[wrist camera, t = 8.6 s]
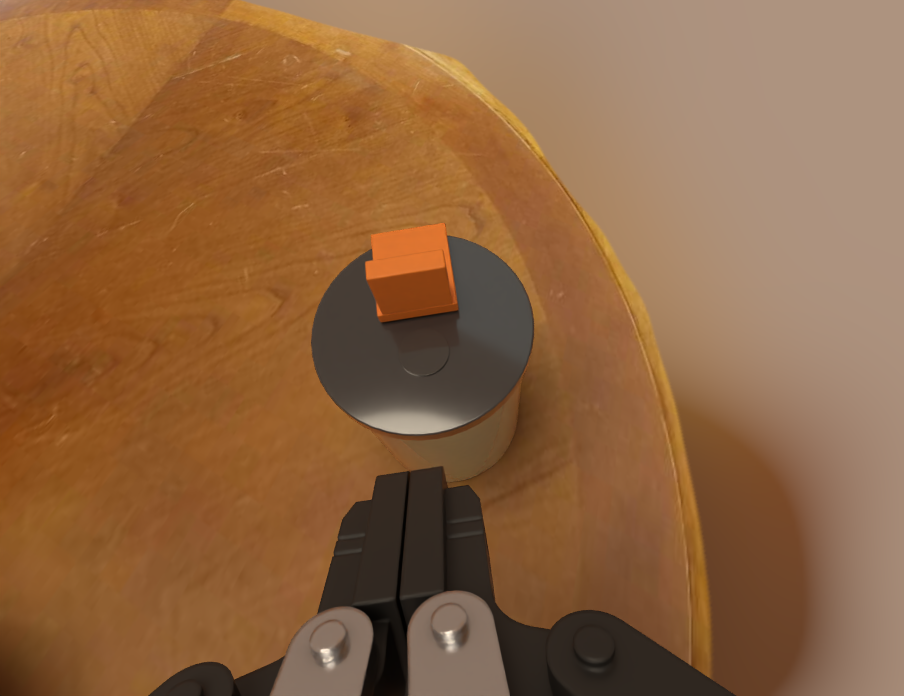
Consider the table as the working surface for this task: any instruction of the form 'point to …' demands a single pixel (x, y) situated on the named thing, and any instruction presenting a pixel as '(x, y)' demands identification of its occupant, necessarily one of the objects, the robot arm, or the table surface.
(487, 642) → the robot arm
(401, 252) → the slider
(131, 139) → the table surface
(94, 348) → the table surface
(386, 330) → the lidded canister
